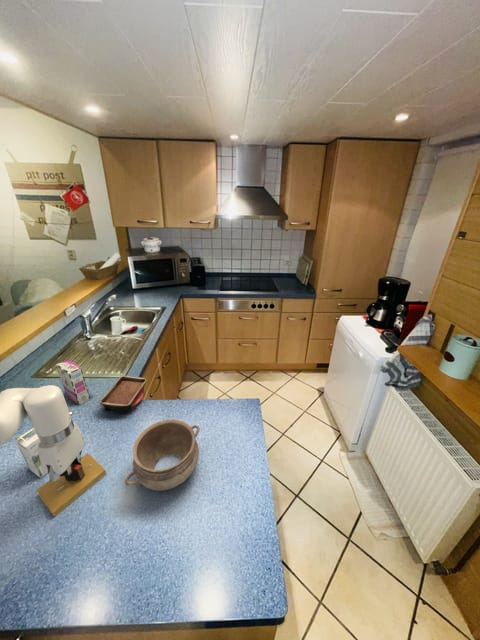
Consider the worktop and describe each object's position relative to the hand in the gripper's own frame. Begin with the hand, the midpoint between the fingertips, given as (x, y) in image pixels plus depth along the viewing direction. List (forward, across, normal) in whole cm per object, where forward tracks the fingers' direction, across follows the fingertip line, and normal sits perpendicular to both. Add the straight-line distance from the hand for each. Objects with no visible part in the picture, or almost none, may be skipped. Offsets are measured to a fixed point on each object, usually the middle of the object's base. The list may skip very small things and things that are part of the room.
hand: (75, 475), depth 72 cm
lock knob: (+1, 0, 0) cm, 1 cm away
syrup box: (+4, -3, -13) cm, 14 cm away
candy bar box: (+4, -33, -25) cm, 41 cm away
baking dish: (+4, -33, -4) cm, 33 cm away
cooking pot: (+4, -8, +25) cm, 26 cm away
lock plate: (+4, +1, 0) cm, 4 cm away
